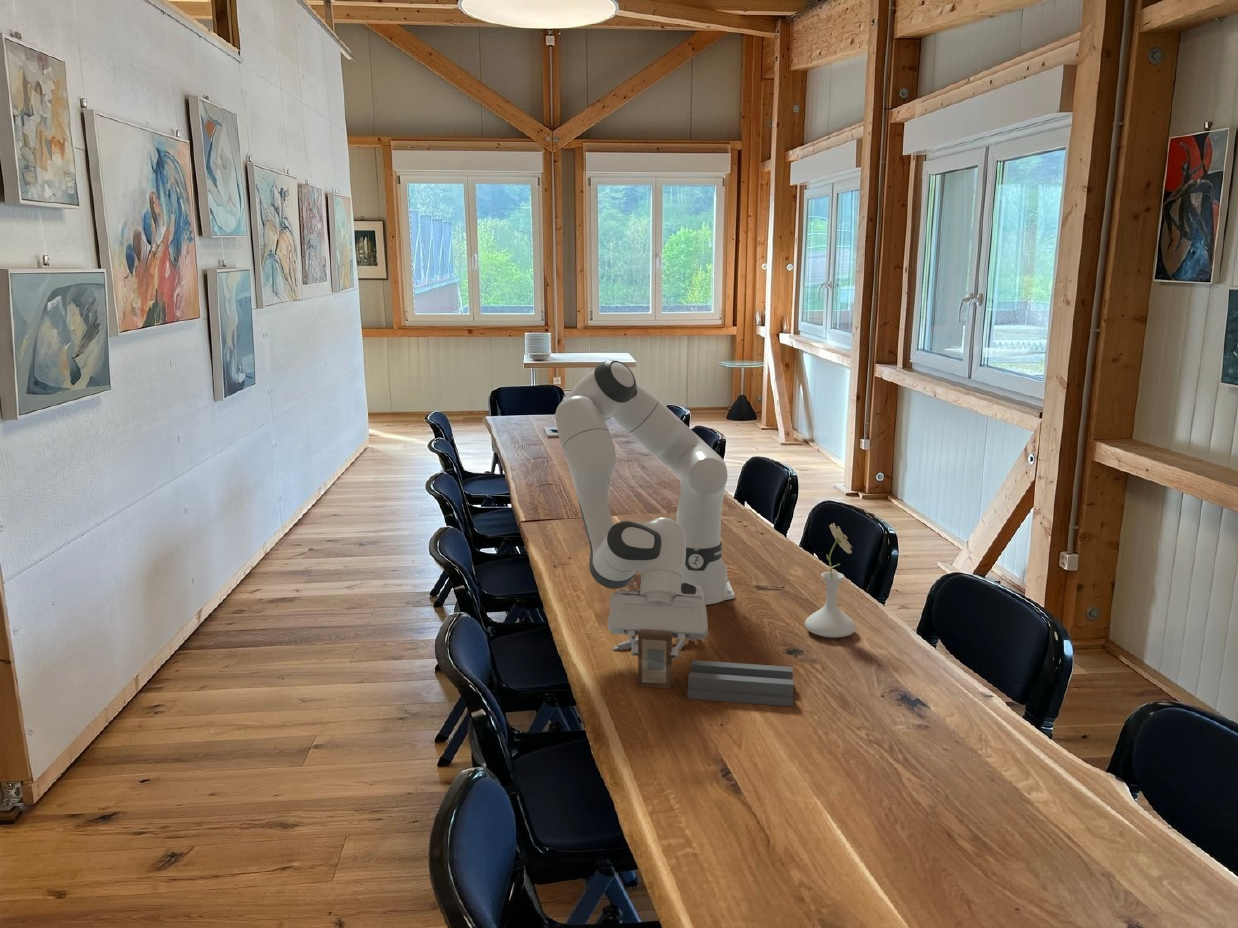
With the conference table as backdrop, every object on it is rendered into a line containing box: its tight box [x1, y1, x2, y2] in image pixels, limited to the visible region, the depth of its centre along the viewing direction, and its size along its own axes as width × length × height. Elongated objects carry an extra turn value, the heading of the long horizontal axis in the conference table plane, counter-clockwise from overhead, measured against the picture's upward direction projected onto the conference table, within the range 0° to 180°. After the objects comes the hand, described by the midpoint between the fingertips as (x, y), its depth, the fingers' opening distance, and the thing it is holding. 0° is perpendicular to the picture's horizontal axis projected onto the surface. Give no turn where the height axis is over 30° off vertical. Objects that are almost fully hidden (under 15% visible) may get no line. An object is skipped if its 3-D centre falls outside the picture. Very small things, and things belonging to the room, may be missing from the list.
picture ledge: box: [686, 659, 794, 707], centre depth 177 cm, size 10×20×4 cm, turn 80°
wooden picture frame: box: [637, 630, 673, 689], centre depth 179 cm, size 3×6×11 cm, turn 80°
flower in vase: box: [804, 522, 857, 639], centre depth 205 cm, size 13×11×25 cm
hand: (654, 655), depth 178 cm, fingers closed on wooden picture frame, 6 cm apart
